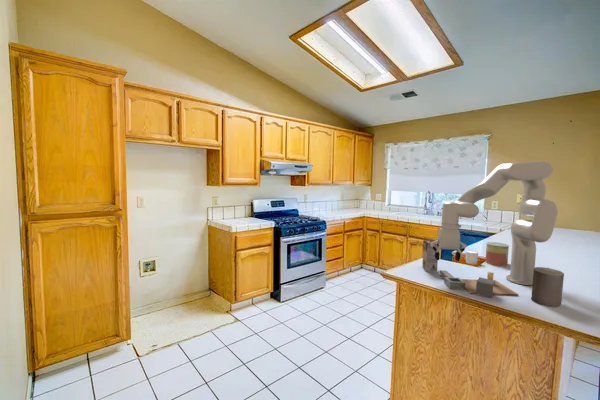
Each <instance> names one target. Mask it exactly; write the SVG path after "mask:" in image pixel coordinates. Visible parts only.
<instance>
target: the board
mask: <svg viewBox="0 0 600 400" xmlns="http://www.w3.org/2000/svg"><path fill="white" fill-rule="evenodd" d="M460 279H461V280H462V281H464V282H465V289H464V290H465V291H467V293H469V294H470V295H477V294H476V284H477V280H478V279H470V278H469V279H468V278H467V279H466V278H465V279H464V278H460ZM494 280H495V279H494ZM493 296H509V297H511V296H512V297H519V293H517V292H516V291H514V290H512V289H511V288H509V287H508V286H505V285H504V284H503V283H501V282H499V281H497V280H495V283H494V285H493Z"/></svg>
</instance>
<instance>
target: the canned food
mask: <svg viewBox="0 0 600 400" xmlns="http://www.w3.org/2000/svg"><path fill="white" fill-rule="evenodd" d="M485 245H486V248H485V261H484V262H485V264H488V265H491V266H496V267H507V266H508V264H509V263H508V262H509V247H510V245H509V244H507V243H502V242H497V241H496V242H493V241H488V242H486V244H485Z"/></svg>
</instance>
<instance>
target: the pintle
mask: <svg viewBox="0 0 600 400" xmlns="http://www.w3.org/2000/svg"><path fill="white" fill-rule="evenodd" d="M486 276H487V278H486V279H491V280H494V272H490V271H488V272H487V275H486Z"/></svg>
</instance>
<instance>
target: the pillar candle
mask: <svg viewBox="0 0 600 400" xmlns="http://www.w3.org/2000/svg"><path fill="white" fill-rule="evenodd" d="M564 276H565V273H564V272H563V271H561V270H558V269H555V268H551V267H544V266H543V267H542V266H537V267H536V266H535V268H534V273H533V283H532V287H531V298H530V300H531V301H533V302H534V303H536V304H538V305H540V306H545V307H549V308H561V306H562V302H563V301H562V299H563V289H564V278H565V277H564Z"/></svg>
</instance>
